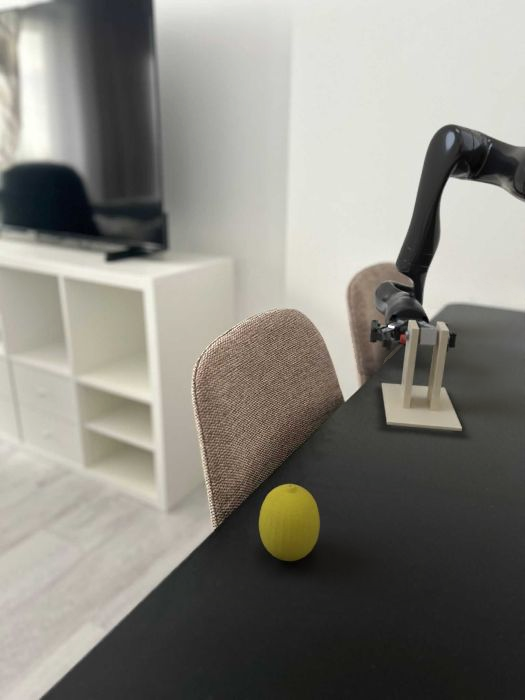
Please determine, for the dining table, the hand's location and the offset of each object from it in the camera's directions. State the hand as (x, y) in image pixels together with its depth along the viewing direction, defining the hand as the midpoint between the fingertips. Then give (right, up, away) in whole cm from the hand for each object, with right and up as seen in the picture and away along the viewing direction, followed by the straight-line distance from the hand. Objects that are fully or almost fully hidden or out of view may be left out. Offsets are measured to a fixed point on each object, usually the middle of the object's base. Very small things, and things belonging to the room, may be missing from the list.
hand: (416, 346), depth 83 cm
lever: (-1, 0, -5) cm, 5 cm away
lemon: (-22, -20, -35) cm, 46 cm away
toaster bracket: (-1, -10, -6) cm, 11 cm away
